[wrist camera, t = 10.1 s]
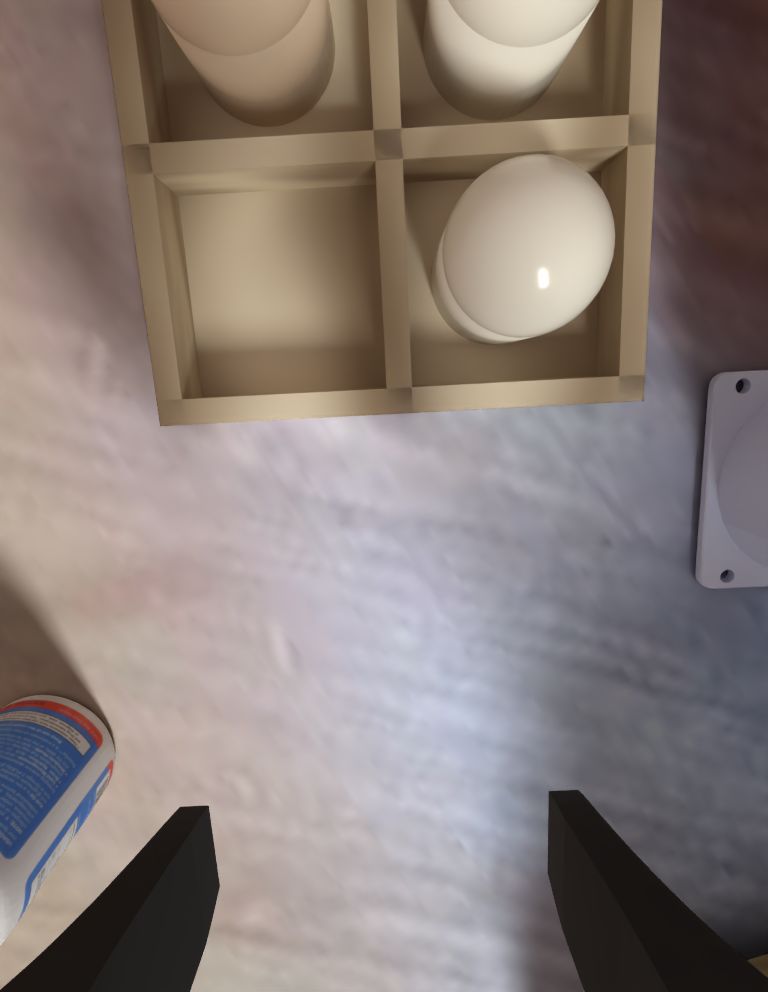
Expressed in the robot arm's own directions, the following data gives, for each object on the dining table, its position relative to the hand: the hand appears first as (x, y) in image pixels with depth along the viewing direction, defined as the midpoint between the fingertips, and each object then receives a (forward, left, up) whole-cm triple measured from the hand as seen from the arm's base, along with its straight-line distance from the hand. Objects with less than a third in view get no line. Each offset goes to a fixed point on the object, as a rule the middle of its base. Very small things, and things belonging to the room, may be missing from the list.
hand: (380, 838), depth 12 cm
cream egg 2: (-4, -13, -10) cm, 17 cm away
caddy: (-1, -16, -10) cm, 19 cm away
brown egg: (+3, -20, -10) cm, 22 cm away
